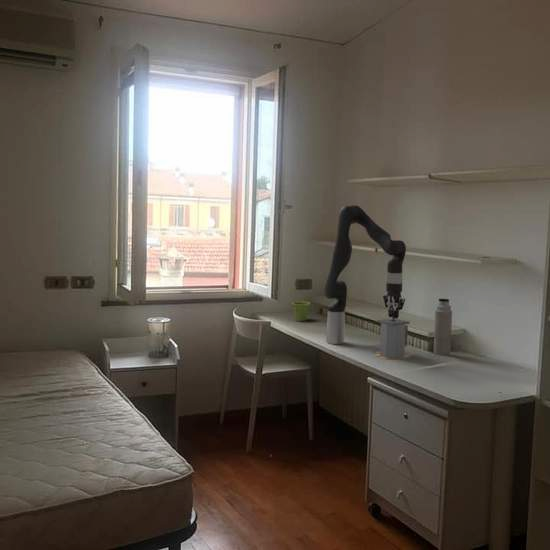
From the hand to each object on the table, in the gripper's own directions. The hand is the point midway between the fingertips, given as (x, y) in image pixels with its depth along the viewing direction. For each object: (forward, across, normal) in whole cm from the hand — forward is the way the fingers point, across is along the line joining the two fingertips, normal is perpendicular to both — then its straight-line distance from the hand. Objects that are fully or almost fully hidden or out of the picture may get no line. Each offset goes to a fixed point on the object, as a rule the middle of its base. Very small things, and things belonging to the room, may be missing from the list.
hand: (393, 317), depth 298 cm
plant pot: (+20, -105, +14) cm, 108 cm away
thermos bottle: (+20, +8, +25) cm, 33 cm away
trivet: (+20, 0, 0) cm, 20 cm away
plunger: (+15, 0, 0) cm, 15 cm away
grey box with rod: (+19, 0, +2) cm, 19 cm away
